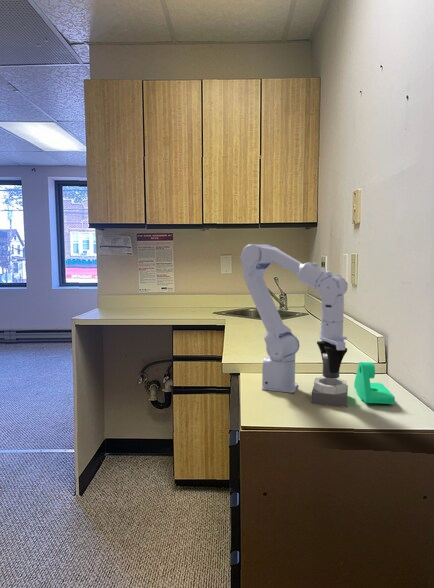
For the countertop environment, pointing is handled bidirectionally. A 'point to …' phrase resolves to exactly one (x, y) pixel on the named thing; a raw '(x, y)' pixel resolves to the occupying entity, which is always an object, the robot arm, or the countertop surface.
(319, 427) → the countertop surface
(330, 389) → the square octagon-collar plate
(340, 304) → the robot arm
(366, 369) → the camera mount
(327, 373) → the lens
